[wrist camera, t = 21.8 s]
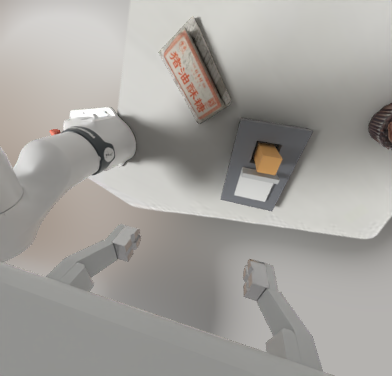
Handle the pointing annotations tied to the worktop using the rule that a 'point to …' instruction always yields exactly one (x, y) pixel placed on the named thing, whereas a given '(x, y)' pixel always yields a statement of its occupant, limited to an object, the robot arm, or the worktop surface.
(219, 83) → the packaged product
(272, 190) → the socket plate
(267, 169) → the orange block
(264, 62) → the worktop surface
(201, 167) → the worktop surface
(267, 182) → the shutter
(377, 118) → the cupcake
